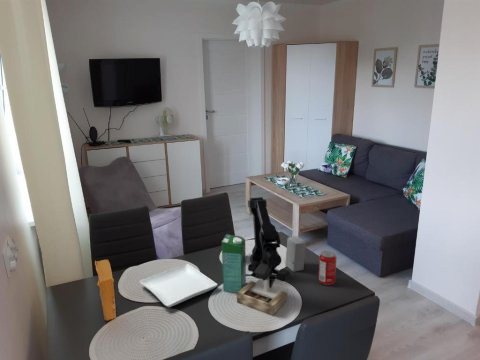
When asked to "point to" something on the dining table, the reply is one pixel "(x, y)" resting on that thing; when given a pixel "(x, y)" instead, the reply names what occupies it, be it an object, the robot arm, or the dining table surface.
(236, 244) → the milk carton
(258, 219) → the robot arm
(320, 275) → the red food canister
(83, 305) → the dining table surface
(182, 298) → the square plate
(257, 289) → the lid
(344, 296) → the dining table surface
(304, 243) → the skincare box
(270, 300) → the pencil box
